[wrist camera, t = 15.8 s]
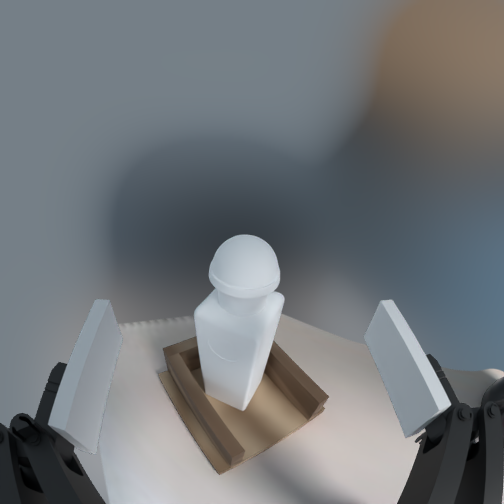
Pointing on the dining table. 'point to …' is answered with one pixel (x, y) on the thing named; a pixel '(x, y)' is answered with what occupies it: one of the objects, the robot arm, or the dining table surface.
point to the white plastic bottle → (238, 319)
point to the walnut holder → (232, 419)
